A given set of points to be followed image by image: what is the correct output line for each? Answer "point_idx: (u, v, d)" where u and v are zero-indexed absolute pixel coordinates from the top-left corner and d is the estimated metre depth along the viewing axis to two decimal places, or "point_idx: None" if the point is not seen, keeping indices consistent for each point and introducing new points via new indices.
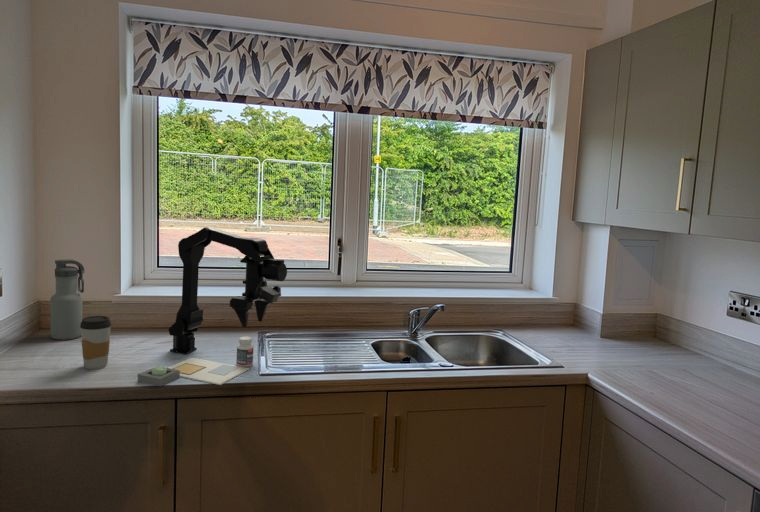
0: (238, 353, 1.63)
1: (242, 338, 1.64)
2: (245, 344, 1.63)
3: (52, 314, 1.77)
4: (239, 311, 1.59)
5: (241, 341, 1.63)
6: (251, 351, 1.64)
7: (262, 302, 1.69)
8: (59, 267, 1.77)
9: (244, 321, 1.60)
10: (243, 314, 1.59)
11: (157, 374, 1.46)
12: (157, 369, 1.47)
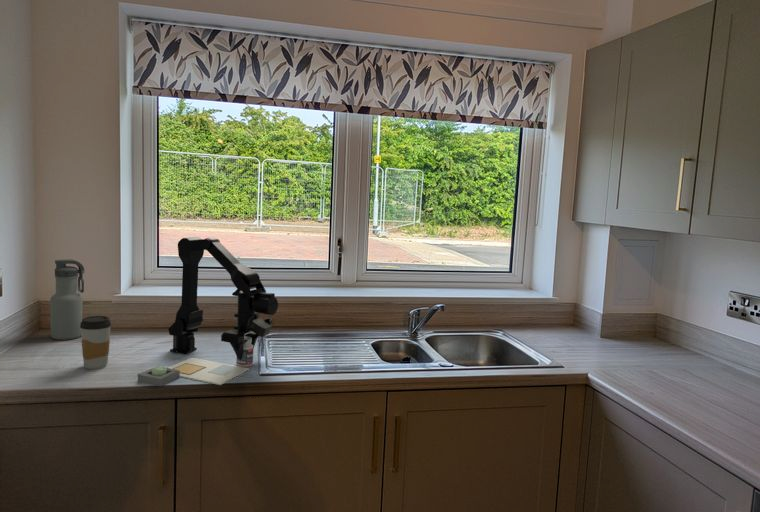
0: None
1: None
2: (245, 344, 1.63)
3: (52, 314, 1.77)
4: (234, 343, 1.61)
5: None
6: (251, 351, 1.64)
7: (251, 335, 1.68)
8: (59, 267, 1.77)
9: (239, 353, 1.62)
10: (238, 346, 1.61)
11: (157, 374, 1.46)
12: (157, 369, 1.47)
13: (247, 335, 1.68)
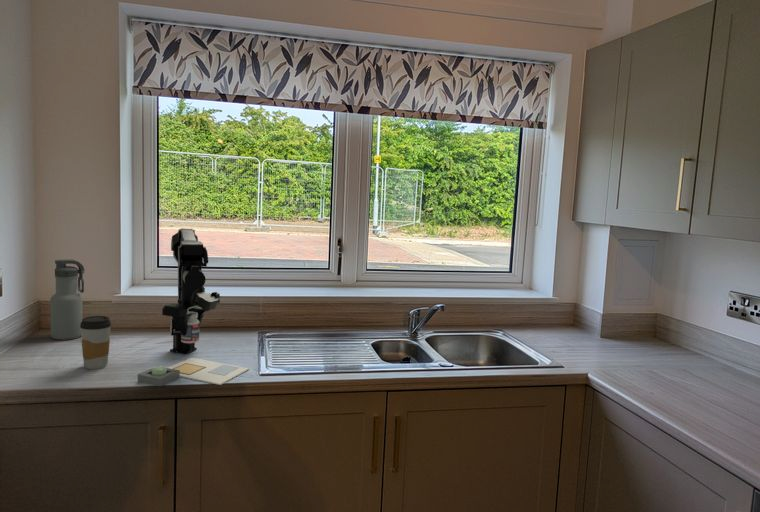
0: None
1: None
2: (190, 319, 1.54)
3: (52, 314, 1.77)
4: (177, 318, 1.52)
5: None
6: (196, 326, 1.55)
7: (198, 310, 1.58)
8: (59, 267, 1.77)
9: (183, 328, 1.52)
10: (182, 321, 1.52)
11: (157, 374, 1.46)
12: (157, 369, 1.47)
13: (193, 310, 1.59)
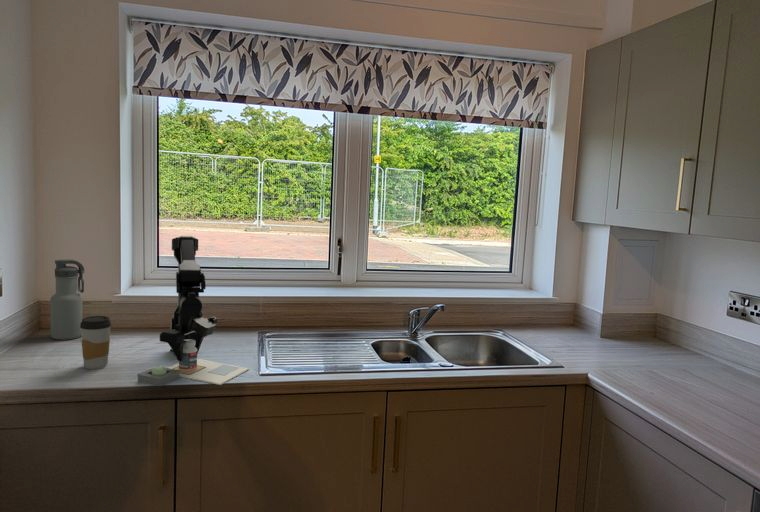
0: None
1: None
2: (188, 347, 1.55)
3: (52, 314, 1.77)
4: (173, 344, 1.52)
5: None
6: (194, 354, 1.55)
7: (197, 334, 1.60)
8: (59, 267, 1.77)
9: (179, 355, 1.52)
10: (177, 347, 1.52)
11: (157, 374, 1.46)
12: (157, 369, 1.47)
13: (193, 334, 1.60)
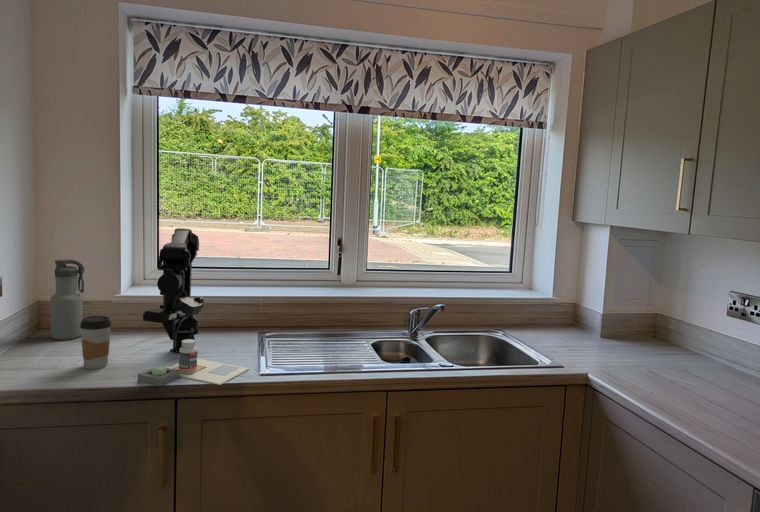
0: (180, 357, 1.54)
1: (185, 341, 1.56)
2: (188, 347, 1.55)
3: (52, 314, 1.77)
4: (165, 322, 1.49)
5: (183, 344, 1.54)
6: (194, 354, 1.55)
7: (175, 318, 1.50)
8: (59, 267, 1.77)
9: (171, 333, 1.49)
10: (170, 325, 1.49)
11: (157, 374, 1.46)
12: (157, 369, 1.47)
13: None
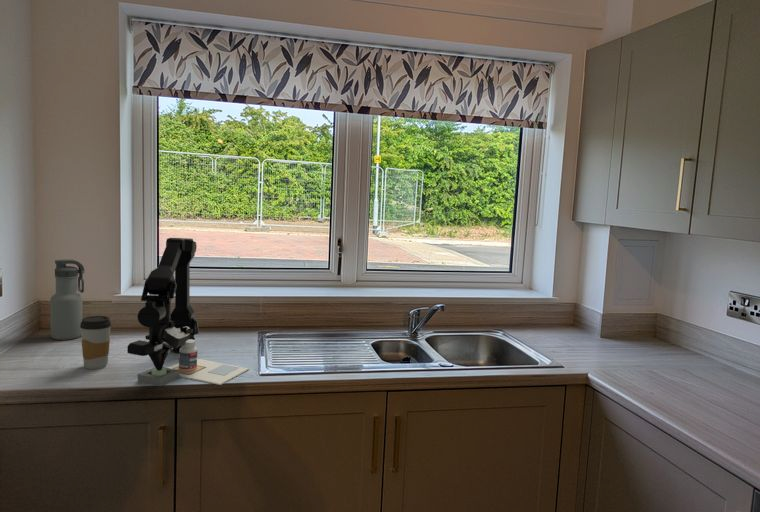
0: (180, 357, 1.54)
1: None
2: (188, 347, 1.55)
3: (52, 314, 1.77)
4: (151, 353, 1.46)
5: None
6: (194, 354, 1.55)
7: (161, 348, 1.48)
8: (59, 267, 1.77)
9: (157, 363, 1.47)
10: (156, 356, 1.46)
11: (157, 375, 1.46)
12: (157, 370, 1.47)
13: None
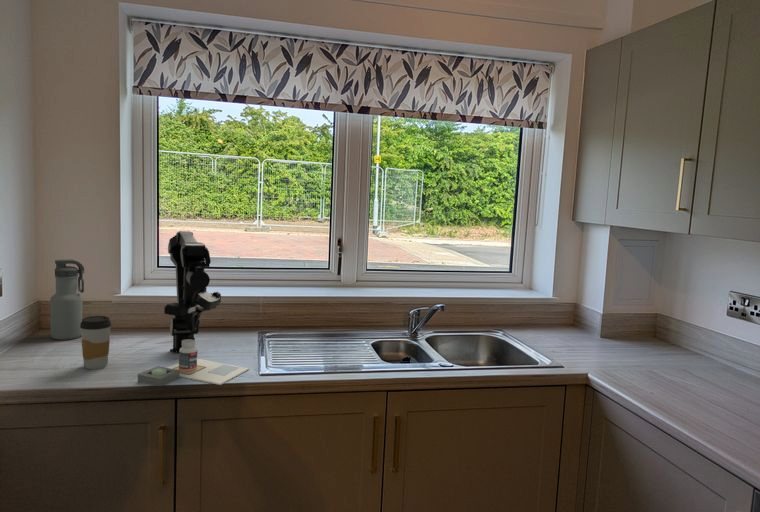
0: (180, 357, 1.54)
1: (185, 341, 1.56)
2: (188, 347, 1.55)
3: (52, 314, 1.77)
4: (185, 315, 1.59)
5: (183, 344, 1.54)
6: (194, 354, 1.55)
7: (194, 311, 1.60)
8: (59, 267, 1.77)
9: (190, 325, 1.59)
10: (189, 318, 1.59)
11: None
12: (157, 371, 1.47)
13: None
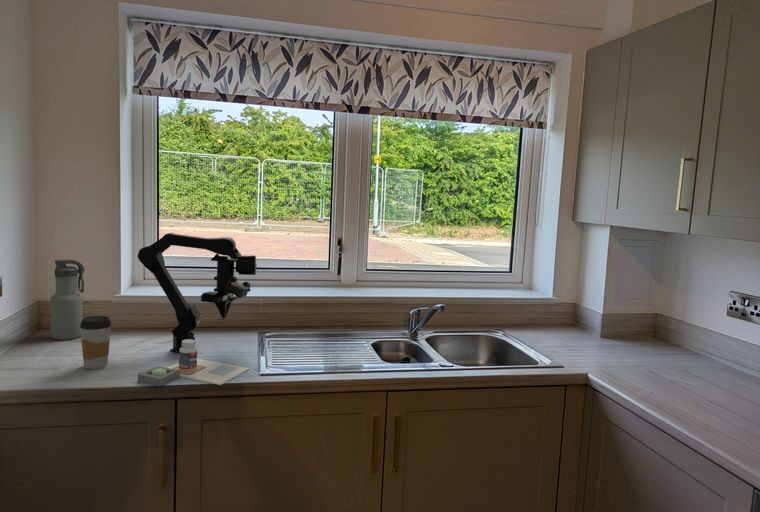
0: (180, 357, 1.54)
1: (185, 341, 1.56)
2: (188, 347, 1.55)
3: (52, 314, 1.77)
4: (218, 303, 1.74)
5: (183, 344, 1.54)
6: (194, 354, 1.55)
7: None
8: (59, 267, 1.77)
9: (223, 312, 1.75)
10: (222, 306, 1.74)
11: None
12: (157, 371, 1.47)
13: None
